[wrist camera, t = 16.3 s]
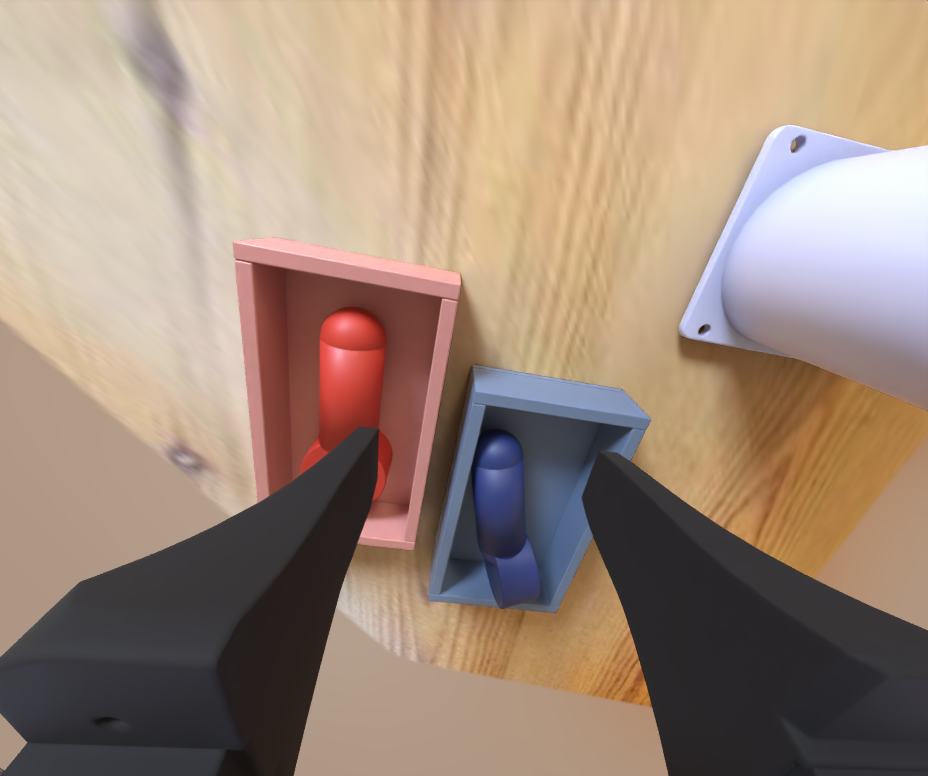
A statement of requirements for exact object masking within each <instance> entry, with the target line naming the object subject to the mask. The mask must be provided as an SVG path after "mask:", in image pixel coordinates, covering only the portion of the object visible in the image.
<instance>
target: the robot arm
mask: <svg viewBox="0 0 928 776" xmlns="http://www.w3.org/2000/svg"><path fill="white" fill-rule="evenodd" d="M794 139H795V140H796V147H795V149H794V151H793V152H791V149H790V147H791V143H792V142H793V140H794ZM703 325H705V328H704V330H703V331H702V332H701V333H698V331H699V329H700V327H701V326H703ZM678 330H679V333H680V335H682V336H684V337H686V338H688V339H693V340H698V341H703V342H709V343H714V344H719V345H725V346H730V347H735V348H741V349H746V350H751V351H757V352H762V353H768V354H773V355H778V356H784V357H789V358H794V359H799V360H802V361H804V362H807V363H809V364H812V365H814V366H817V367H819V368H822V369H824V370H827V371H829V372H832V373H834V374H837V375H839V376H842V377H844V378H847V379H849V380H852V381H854V382H857V383H859V384H862V385H864V386H867V387H869V388H872V389H874V390H876V391H879V392H881V393H884V394H886V395H889V396H891V397H894V398H896V399H899V400H901V401H904V402H906V403H909V404H911V405H914V406H916V407H919V408H921V409H924V410H926V411H928V145H927V146H921V147H914V148H908V149H902V150H896V151H891V150H887V149H883V148H879V147H875V146H871V145H868V144H864V143H860V142H856V141H852V140H849V139H845V138H841V137H837V136H833V135H829V134H826V133H822V132H818V131H814V130H810V129H807V128H803V127H799V126H795V125H786V126H782V127H779V128H777V129H775V130H774V131H773V132H771V133H770V134H769V136H768V137H767V139H766V140H765V143H764V145H763V147H762V149H761V151H760V153H759V155H758V157H757V160H756V162H755V164H754V166H753V168H752V170H751V172H750V175H749V177H748V179H747V181H746V183H745V185H744V187H743V190H742V192H741V194H740V196H739V198H738V200H737V202H736V204H735V207H734V209H733V211H732V213H731V215H730V217H729V219H728V222H727V224H726V226H725V228H724V230H723V232H722V234H721V237H720V239H719V241H718V243H717V245H716V247H715V249H714V251H713V254H712V256H711V258H710V260H709V262H708V264H707V266H706V269H705V271H704V273H703V275H702V277H701V279H700V281H699V284H698V286H697V288H696V290H695V292H694V294H693V296H692V298H691V301H690V303H689V305H688V307H687V309H686V311H685V313H684V316H683V318H682V320H681V322H680V324H679V328H678ZM378 451H379V428H374V427H364V426H359V427H358V428H356V429H355V430H354V431H353V432H352V433H351V434H350V435H349V436H347V437H346V438H345V439H344V440H343V441H342V442H341V443H339V444H338V445H337V446H336V447H335V448H334V449H333V450H331V451H330V452H329V453H328V454H327V455H325V456H324V457H323V458H322V459H320V460H319V461H318V462H317V463H316V464H314V465H313V466H312V467H310V468H309V469H308V470H306V471H305V472H304V473H302V474H301V475H300V476H298V477H297V478H295V479H294V480H293V481H291V482H290V483H289V484H287V485H286V486H284V487H283V488H281V489H280V490H278V491H277V492H275V493H273V494H272V495H270V496H268V497H267V498H265V499H264V500H262V501H260V502H259V503H257V504H255V505H253V506H252V507H250V508H248V509H246V510H244V511H242V512H240V513H238V514H237V515H235V516H233V517H231V518H229V519H227V520H225V521H223V522H221V523H220V524H218V525H216V526H214V527H212V528H210V529H208V530H205V531H203V532H201V533H199V534H197V535H195V536H193V537H191V538H189V539H186V540H184V541H182V542H179V543H177V544H175V545H173V546H170V547H168V548H166V549H164V550H161V551H159V552H156V553H154V554H151V555H149V556H147V557H144V558H142V559H139V560H136V561H134V562H131V563H129V564H126V565H123V566H121V567H118V568H116V569H113V570H110V571H108V572H105V573H103V574H100V575H97V576H95V577H92V578H89V579H87V580H84V581H81V582H79V583H78V584H77V585H76V586H75V587H74V588H73V589H72V590H70V592H68V594H66V595H65V596H64V597H63V598H62V599H61V600H60V601H59V602H58V603H57V604H56V605H55V606H54V607H53V608H51V609H50V610H49V612H47V613H46V614H45V615H44V616H43V617H42V618H41V619H40V620H39V621H38V622H37V623H36V624H35V625H34V626H33V627H32V628H31V629H29V630H28V631H27V632H26V633H25V634H24V635H23V636H22V637H21V638H20V639H19V640H18V641H17V642H16V643H15V644H14V645H13V646H12V647H11V648H10V649H9V650H8V651H6V652H5V653H4V654H3V655H2V656H1V657H0V713H1V715H2V716H3V717H4V718H5V719H6V720H7V721H8V722H9V723H10V724H11V725H12V726H13V727H14V729H16V731H17V732H18V733H19V734H20V735H21V736H22V737H23V738H24V739H25V740H26V741H27V742H28V743H27V744H26V745H25V747H24V748H23V749H22V750H21V752H20V753H19V754H18V755H17V756H16V758H15V759H14V760H13V761H12V762H11V764H10V765H9V766H8V767H7V769H6V770H3V769H1V768H0V776H293V775H294V771H295V767H296V763H297V759H298V754H299V751H300V746H301V742H302V738H303V734H304V729H305V725H306V721H307V717H308V713H309V709H310V705H311V701H312V697H313V693H314V689H315V685H316V681H317V677H318V673H319V669H320V665H321V661H322V657H323V653H324V650H325V646H326V642H327V638H328V635H329V631H330V627H331V623H332V619H333V616H334V612H335V609H336V605H337V601H338V598H339V594H340V590H341V587H342V584H343V581H344V578H345V575H346V573H347V570H348V567H349V564H350V562H351V559H352V556H353V554H354V551H355V548H356V546H357V543H358V540H359V538H360V535H361V532H362V530H363V527H364V524H365V522H366V519H367V516H368V514H369V511H370V508H371V504H372V500H373V496H374V492H375V488H376V484H377V479H378ZM581 498H582V502H583V506H584V510H585V514H586V517H587V521H588V524H589V527H590V530H591V532H592V535H593V537H594V539H595V542H596V544H597V547H598V549H599V551H600V554H601V556H602V558H603V561H604V563H605V565H606V568H607V570H608V572H609V575H610V577H611V579H612V582H613V584H614V586H615V589H616V591H617V593H618V596H619V599H620V601H621V604H622V606H623V609H624V612H625V615H626V618H627V621H628V625H629V628H630V631H631V634H632V637H633V640H634V643H635V647H636V650H637V654H638V657H639V660H640V664H641V667H642V671H643V674H644V678H645V681H646V685H647V688H648V692H649V696H650V700H651V704H652V708H653V712H654V715H655V719H656V723H657V727H658V731H659V735H660V739H661V743H662V748H663V753H664V757H665V762H666V766H667V770H668V775H669V776H928V630H926V629H923V628H921V627H919V626H916V625H914V624H911V623H909V622H906V621H904V620H902V619H900V618H897V617H895V616H893V615H890V614H888V613H886V612H883V611H881V610H879V609H876V608H874V607H871V606H869V605H867V604H865V603H863V602H861V601H859V600H856V599H854V598H852V597H850V596H848V595H846V594H844V593H841V592H839V591H837V590H835V589H833V588H831V587H829V586H827V585H825V584H823V583H821V582H819V581H817V580H815V579H813V578H811V577H809V576H807V575H805V574H803V573H801V572H799V571H797V570H795V569H794V568H792V567H790V566H788V565H786V564H784V563H782V562H781V561H779V560H777V559H775V558H773V557H771V556H769V555H768V554H766V553H764V552H762V551H761V550H759V549H757V548H755V547H754V546H752V545H750V544H749V543H747V542H745V541H744V540H742V539H740V538H739V537H737V536H735V535H734V534H732V533H731V532H729V531H727V530H726V529H724V528H722V527H721V526H719V525H718V524H716V523H715V522H713V521H712V520H710V519H709V518H707V517H706V516H704V515H703V514H701V513H700V512H699V511H697V510H696V509H694V508H693V507H691V506H690V505H688V504H687V503H686V502H684V501H683V500H681V499H680V498H679V497H677V496H676V495H675V494H673V493H672V492H671V491H669V490H668V489H667V488H665V487H664V486H663V485H661V484H660V483H659V482H657V481H656V480H655V479H653V478H652V477H651V476H649V475H648V474H647V473H645V472H644V471H643V470H641V469H640V468H639V467H637V466H636V465H635V464H633V463H632V462H630V461H629V460H628V459H626V458H625V457H623V456H622V455H620V454H619V453H617V452H609V451H598V454H597V457H596V459H595V462H594V465H593V467H592V470H591V473H590V475H589V478H588V481H587V483H586V486H585V489H584V492H583V494H582V497H581Z"/></svg>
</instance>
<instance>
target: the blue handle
mask: <svg viewBox="0 0 928 776" xmlns="http://www.w3.org/2000/svg"><path fill="white" fill-rule="evenodd" d="M471 475H472V486H473V498H474V509H475V520H476V532H477V542H478V547H479V549H480V551H481V553H482V555H483V557H484V562H485V567H486V571H487V575H488V579H489V583H490V587H491V590H492V593H493V596H494V598H495V601H496V603H497V605H498V607H499V608H500V609H504V608H508V607H511V606H515V605H519V604H522V603H526V602H530V601H533V600H537V599H538V598H539V595H540V581H539V574H538V568H537V564H536V560H535V556H534V553H533V549H532V546H531V544H530V541H529V539H528V536H527V534H526V519H525V489H524V459H523V450H522V447H521V444H520V443H519V441H518V440H517V438H516V437H515V436H514V435H512V434H511V433H509V432H507V431H505V430H501V429H491V430H487V431H485V432H483V433H482V434H480V435H479V438H478V442H477V446H476V450H475V454H474V458H473V462H472V466H471Z"/></svg>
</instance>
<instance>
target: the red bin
mask: <svg viewBox="0 0 928 776" xmlns="http://www.w3.org/2000/svg"><path fill="white" fill-rule="evenodd" d="M233 250H234V258H235V259H236V260H235V271H236V281H237V292H238V302H239V312H240V323H241V333H242V344H243V354H244V364H245V375H246V385H247V396H248V406H249V416H250V427H251V437H252V448H253V458H254V468H255V479H256V489H257V499H258V503H259V502H260V501H262V500H264V499H265V498H267V497H268V496H270V495H272V494H273V493H275V492H277V491H278V490H280V489H281V488H283V487H284V486H286V485H287V484H289V483H290V482H291V481H293V480H294V479H295V478H297V477H298V476H300V475H301V464H302V461H303V459H304V457H305V455H306V454H307V452H308V451H309V449H310V448H311V446H312V445H313V443H314V442H315V440H316V438H317V437H318V435H319V391H320V332H321V328H322V325H323V323H324V321H325V320H326V318H327V317H328V316H329V315H330V314H331V313H333V312H335V311H336V310H338V309H341V308H344V307H359V308H363V309H366V310H368V311H369V312H371V313H373V314H374V315H375V316H376V317H377V318H378V319H379V320H380V322H381V323H382V325H383V327H384V329H385V333H386V353H385V364H384V375H383V385H382V396H381V407H380V418H379V430H380V431H381V432H382V433H383V434H384V435H385V436H386V437H387V439H388V441H389V442H390V445H391V448H392V453H393V458H392V463H391V466H390V470H389V474H388V477H387V481H386V485H385V488H384V490H383V492H382V493H381V495H380V496H379V497H378V498H377V499H376V500H374V501H373V502H372V504H371V508H370V511H369V514H368V516H367V519H366V522H365V524H364V527H363V530H362V532H361V535H360V538H359V540H358V543H357V544H360V545H369V546H378V547H387V548H396V549H405V550H414V548H415V542H416V536H417V531H418V525H419V520H420V514H421V508H422V503H423V497H424V492H425V486H426V481H427V475H428V469H429V464H430V458H431V453H432V447H433V441H434V436H435V430H436V425H437V419H438V413H439V408H440V402H441V397H442V391H443V385H444V380H445V374H446V369H447V363H448V357H449V352H450V346H451V341H452V335H453V330H454V324H455V318H456V313H457V307H458V300H459V296H460V290H461V274H460V273H457V272H451V271H446V270H441V269H436V268H431V267H426V266H420V265H415V264H410V263H405V262H400V261H394V260H389V259H384V258H379V257H374V256H369V255H363V254H358V253H353V252H348V251H343V250H338V249H332V248H327V247H322V246H317V245H312V244H307V243H301V242H296V241H291V240H286V239H281V238H276V237H272V238H263V239H251V240H240V241H233Z"/></svg>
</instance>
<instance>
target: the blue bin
mask: <svg viewBox="0 0 928 776" xmlns="http://www.w3.org/2000/svg"><path fill="white" fill-rule="evenodd" d="M650 421H651V418H650V417H649V416H648V415H647V414H646V413H645V412H644V411H643V410H642V409H641V408H640V407H639V406H638V405H637V404H636V403H635V402H634V401H633V400H632V399H631V398H630V397H629V396H628V395H627V394H626V393H625V392H624V391H623V390H622V389H617V388H611V387H605V386H599V385H593V384H587V383H581V382H575V381H569V380H563V379H557V378H551V377H545V376H539V375H533V374H527V373H521V372H515V371H509V370H503V369H497V368H491V367H485V366H479V365H472V368H471V373H470V378H469V383H468V387H467V392H466V397H465V401H464V406H463V411H462V415H461V420H460V425H459V429H458V434H457V439H456V444H455V448H454V453H453V458H452V462H451V467H450V472H449V476H448V481H447V486H446V491H445V495H444V500H443V505H442V509H441V514H440V519H439V523H438V528H437V533H436V538H435V542H434V547H433V552H432V556H431V569H430V582H429V596H428V601H436V602H447V603H457V604H467V605H478V606H488V607H498V605H497V603H496V601H495V598H494V596H493V593H492V590H491V587H490V583H489V579H488V575H487V571H486V567H485V562H484V557H483V555H482V553H481V551H480V549H479V547H478V542H477V532H476V520H475V509H474V498H473V486H472V475H471V466H472V462H473V458H474V454H475V450H476V446H477V442H478V438H479V435H480V434H482V433H483V432H485V431H487V430H491V429H501V430H505V431H507V432H509V433H511V434H512V435H514V436H515V437H516V438H517V440H518V441H519V443H520V444H521V447H522V450H523V459H524V489H525V519H526V534H527V536H528V539H529V541H530V544H531V546H532V549H533V553H534V556H535V560H536V564H537V568H538V574H539V581H540V595H539V598H538V599H537V600H533V601H530V602H526V603H522V604H519V605H515V606H511V607H508V609H519V610H529V611H539V612H550V613H556V612H557V610H558V608H559V606H560V604H561V602H562V600H563V598H564V596H565V593H566V591H567V589H568V587H569V585H570V583H571V581H572V579H573V577H574V575H575V573H576V571H577V569H578V567H579V565H580V563H581V561H582V559H583V557H584V555H585V553H586V551H587V549H588V547H589V545H590V543H591V541H592V539H593V535H592V532H591V530H590V527H589V524H588V521H587V517H586V514H585V510H584V506H583V502H582V498H581V497H582V494H583V492H584V489H585V486H586V483H587V481H588V478H589V475H590V473H591V470H592V467H593V465H594V462H595V459H596V457H597V454H598V451H609V452H617V453H619V454H620V455H622V456H623V457H625V458H626V459H628V460H629V461H631V459H632V457H633V455H634V453H635V451H636V449H637V447H638V445H639V443H640V441H641V439H642V437H643V435H644V433H645V430H646V429H647V427H648V425H649V423H650ZM498 608H499V607H498Z"/></svg>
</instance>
